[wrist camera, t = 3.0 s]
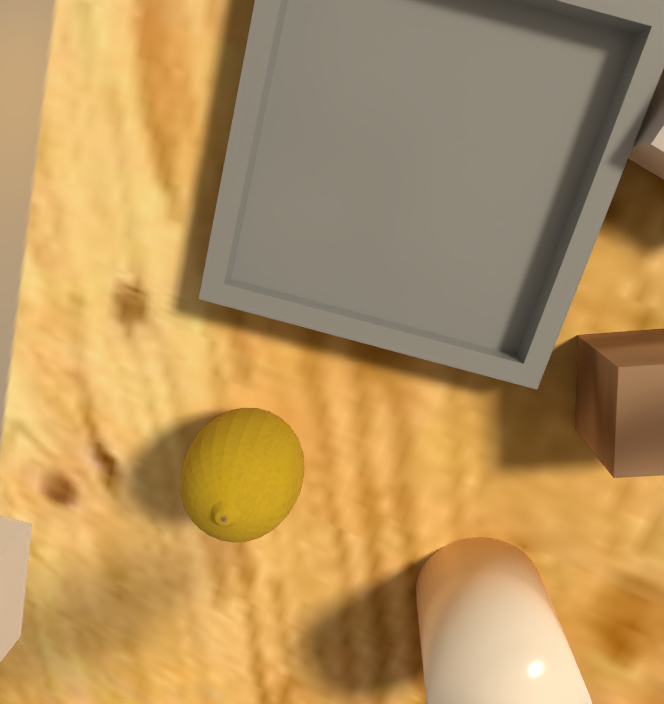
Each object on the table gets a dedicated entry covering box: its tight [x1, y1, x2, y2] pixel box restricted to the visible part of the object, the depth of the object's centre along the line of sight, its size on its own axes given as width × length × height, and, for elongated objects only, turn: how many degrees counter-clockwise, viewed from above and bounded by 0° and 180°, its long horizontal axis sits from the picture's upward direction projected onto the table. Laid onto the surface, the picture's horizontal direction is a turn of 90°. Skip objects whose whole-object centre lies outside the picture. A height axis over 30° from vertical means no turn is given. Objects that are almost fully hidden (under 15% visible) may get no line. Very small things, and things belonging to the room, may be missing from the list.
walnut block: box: [575, 329, 664, 478], centre depth 26 cm, size 5×5×5 cm
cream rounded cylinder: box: [416, 537, 592, 704], centre depth 29 cm, size 7×7×8 cm
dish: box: [199, 0, 664, 390], centre depth 25 cm, size 16×16×2 cm
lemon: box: [181, 408, 304, 542], centre depth 27 cm, size 6×6×8 cm
